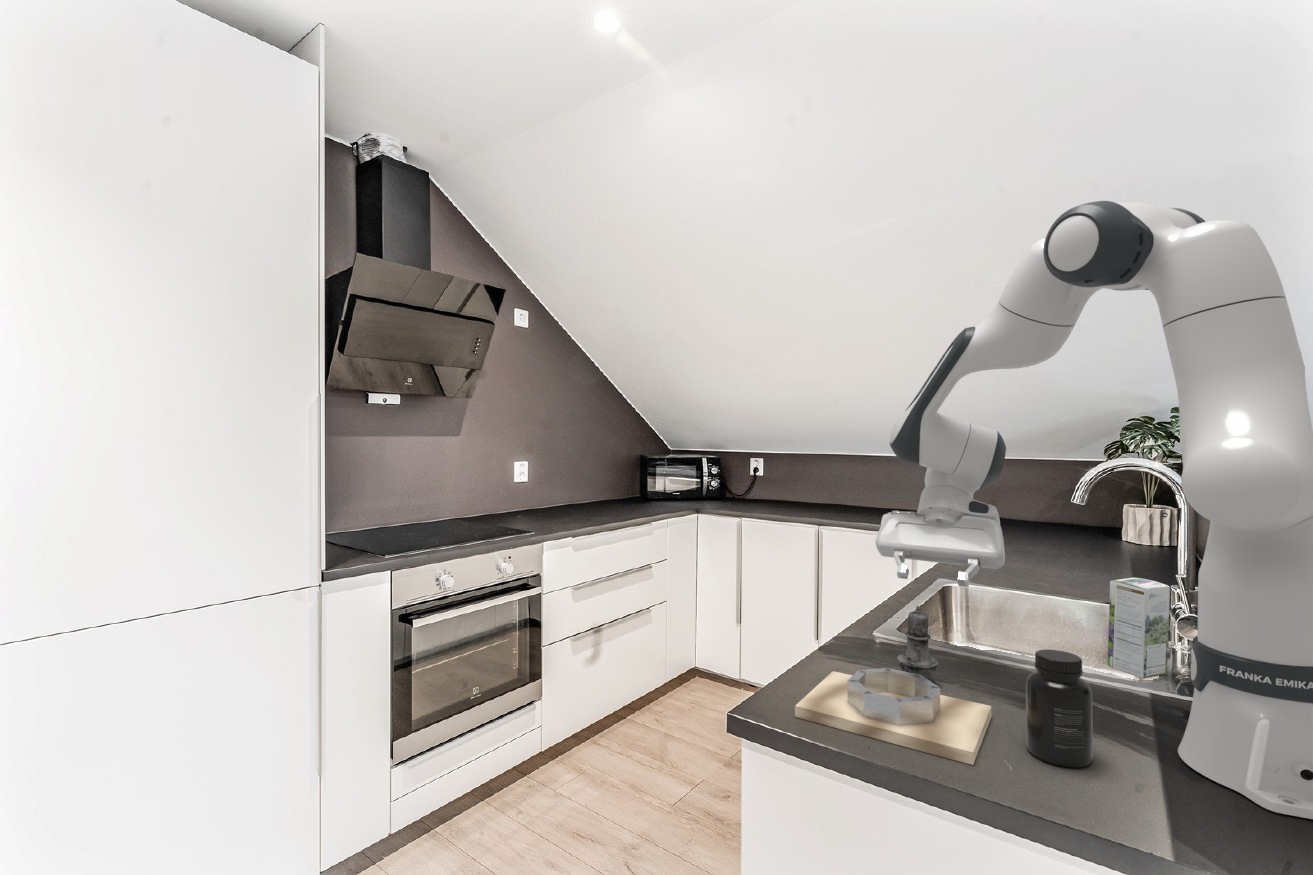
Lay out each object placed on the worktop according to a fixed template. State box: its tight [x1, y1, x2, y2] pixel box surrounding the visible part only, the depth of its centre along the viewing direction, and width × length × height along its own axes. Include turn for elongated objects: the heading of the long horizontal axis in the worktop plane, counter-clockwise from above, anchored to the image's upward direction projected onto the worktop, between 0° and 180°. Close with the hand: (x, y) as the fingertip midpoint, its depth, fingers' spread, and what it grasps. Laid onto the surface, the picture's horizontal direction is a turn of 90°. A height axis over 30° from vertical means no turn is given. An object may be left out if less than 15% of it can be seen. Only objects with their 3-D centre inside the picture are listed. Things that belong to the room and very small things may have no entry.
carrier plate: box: [794, 670, 993, 766], centre depth 88 cm, size 22×15×2 cm
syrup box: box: [1107, 577, 1171, 680], centre depth 104 cm, size 6×6×14 cm
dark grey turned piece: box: [896, 605, 939, 685], centre depth 99 cm, size 6×6×12 cm
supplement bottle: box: [1025, 648, 1094, 768], centre depth 78 cm, size 7×7×12 cm
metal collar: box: [848, 667, 941, 726], centre depth 88 cm, size 11×11×3 cm
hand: (931, 580), depth 106 cm, fingers open, 8 cm apart
